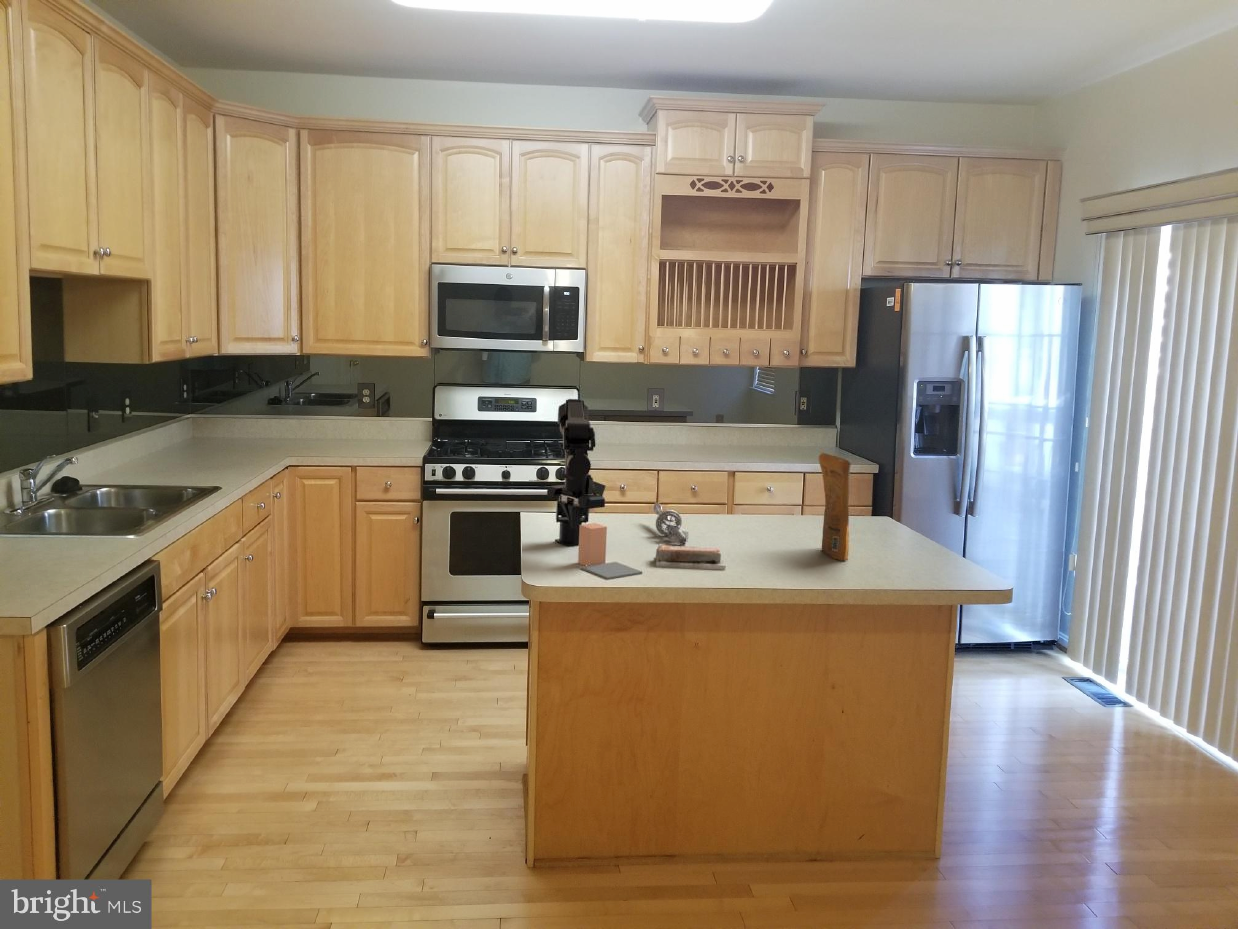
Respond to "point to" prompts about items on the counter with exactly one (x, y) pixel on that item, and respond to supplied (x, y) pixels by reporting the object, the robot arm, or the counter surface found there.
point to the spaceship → (670, 525)
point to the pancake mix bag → (835, 506)
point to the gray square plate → (611, 570)
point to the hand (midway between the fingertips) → (574, 528)
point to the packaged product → (689, 557)
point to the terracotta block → (592, 544)
